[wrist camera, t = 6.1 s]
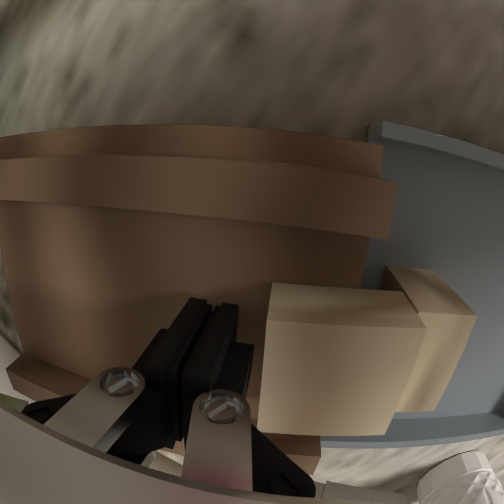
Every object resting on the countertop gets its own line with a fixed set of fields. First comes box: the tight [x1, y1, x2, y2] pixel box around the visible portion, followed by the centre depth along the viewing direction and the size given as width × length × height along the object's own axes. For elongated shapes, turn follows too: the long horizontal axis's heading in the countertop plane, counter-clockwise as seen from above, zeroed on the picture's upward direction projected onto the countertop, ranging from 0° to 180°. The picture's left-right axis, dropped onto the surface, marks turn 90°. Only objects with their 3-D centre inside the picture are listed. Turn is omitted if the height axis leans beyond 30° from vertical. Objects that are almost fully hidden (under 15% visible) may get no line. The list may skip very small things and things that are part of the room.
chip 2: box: [380, 264, 477, 412], centre depth 12 cm, size 4×4×2 cm
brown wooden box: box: [0, 124, 397, 475], centre depth 13 cm, size 16×14×6 cm
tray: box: [320, 121, 504, 448], centre depth 13 cm, size 15×16×2 cm
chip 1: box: [257, 282, 427, 436], centre depth 10 cm, size 4×4×2 cm
